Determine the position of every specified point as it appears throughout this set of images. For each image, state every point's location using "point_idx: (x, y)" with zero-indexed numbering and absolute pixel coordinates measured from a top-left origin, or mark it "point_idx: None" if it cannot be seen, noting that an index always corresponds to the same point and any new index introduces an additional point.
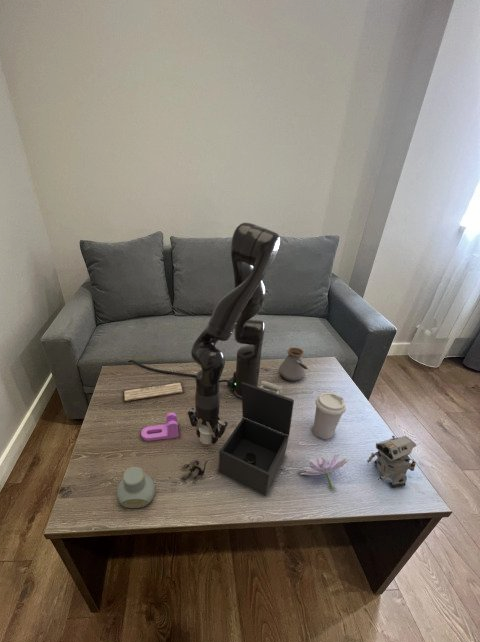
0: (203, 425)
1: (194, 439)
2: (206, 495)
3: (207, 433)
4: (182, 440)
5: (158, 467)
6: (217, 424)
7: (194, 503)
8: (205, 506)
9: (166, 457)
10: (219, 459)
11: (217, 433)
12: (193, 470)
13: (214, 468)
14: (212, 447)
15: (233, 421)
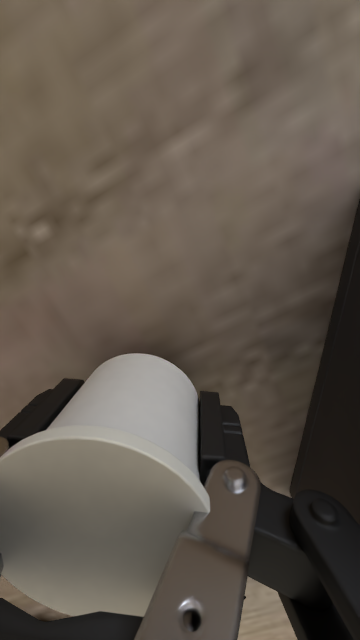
0: (21, 522)
1: (57, 357)
2: (276, 592)
3: (146, 609)
4: (3, 393)
5: None
6: (242, 602)
7: (244, 625)
8: (290, 623)
9: None
10: None
11: (273, 582)
12: None
13: (260, 480)
14: (190, 365)
15: (240, 4)
